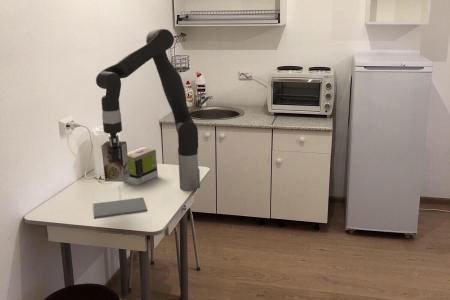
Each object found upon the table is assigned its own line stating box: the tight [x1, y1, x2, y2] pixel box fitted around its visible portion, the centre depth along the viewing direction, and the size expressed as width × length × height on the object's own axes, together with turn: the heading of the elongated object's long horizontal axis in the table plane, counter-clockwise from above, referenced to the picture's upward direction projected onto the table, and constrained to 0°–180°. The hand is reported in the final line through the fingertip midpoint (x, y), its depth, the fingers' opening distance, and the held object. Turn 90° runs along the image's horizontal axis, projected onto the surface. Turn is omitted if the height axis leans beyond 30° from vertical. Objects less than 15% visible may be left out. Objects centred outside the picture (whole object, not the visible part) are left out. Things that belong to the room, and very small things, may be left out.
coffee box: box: [100, 140, 130, 183], centre depth 205 cm, size 9×6×16 cm
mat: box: [93, 196, 148, 219], centre depth 212 cm, size 22×14×1 cm, turn 106°
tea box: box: [124, 146, 159, 186], centre depth 243 cm, size 15×10×15 cm, turn 144°
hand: (115, 157), depth 205 cm, fingers closed on coffee box, 8 cm apart
